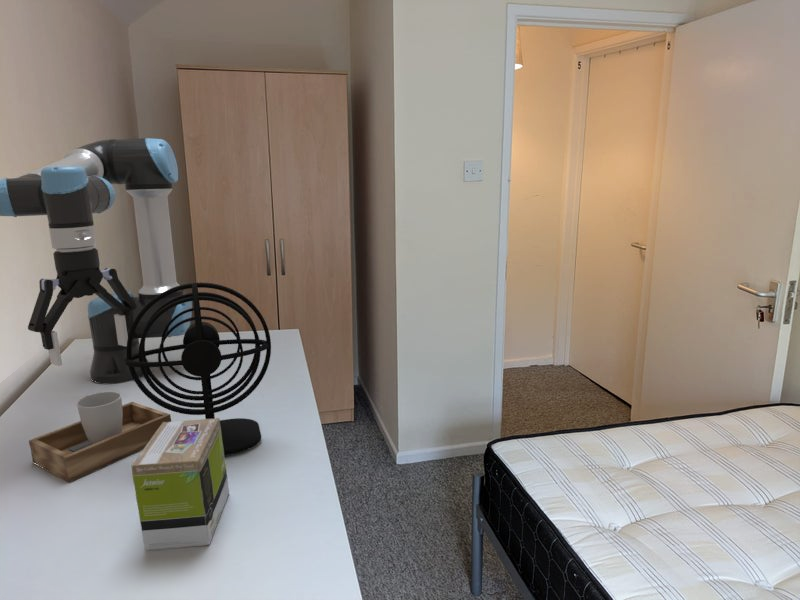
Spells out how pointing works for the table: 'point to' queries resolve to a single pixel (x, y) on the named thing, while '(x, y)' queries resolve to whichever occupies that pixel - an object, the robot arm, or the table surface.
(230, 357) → the desk fan
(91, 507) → the table surface
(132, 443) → the wooden box
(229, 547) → the table surface
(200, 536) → the tea box
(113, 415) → the cup
